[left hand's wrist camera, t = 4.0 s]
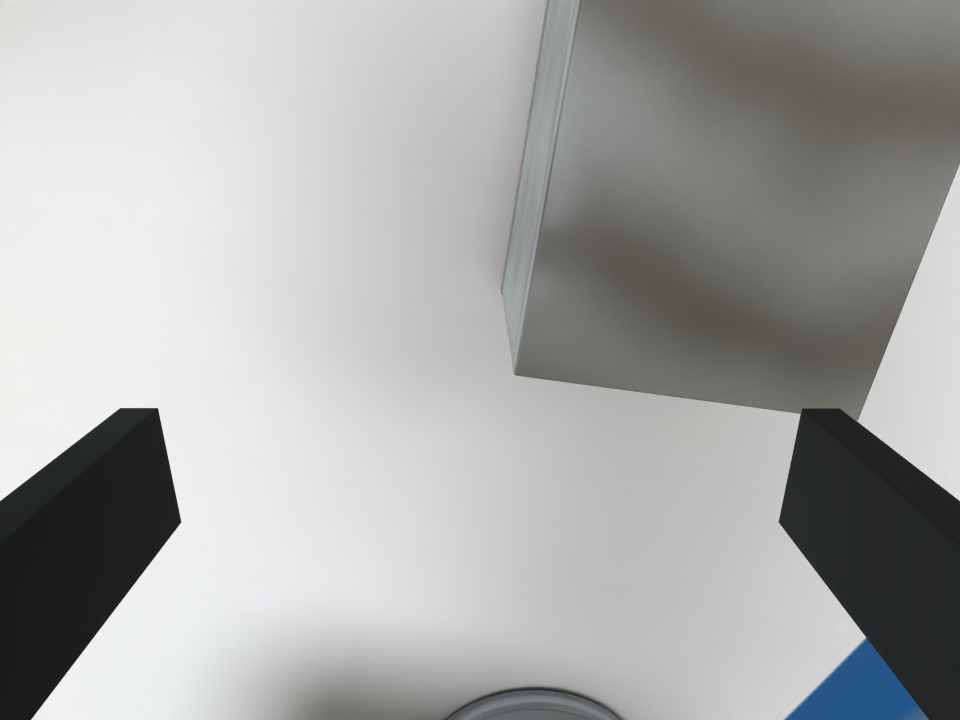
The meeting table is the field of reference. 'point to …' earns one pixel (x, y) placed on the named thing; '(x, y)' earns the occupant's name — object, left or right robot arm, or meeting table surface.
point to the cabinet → (729, 194)
